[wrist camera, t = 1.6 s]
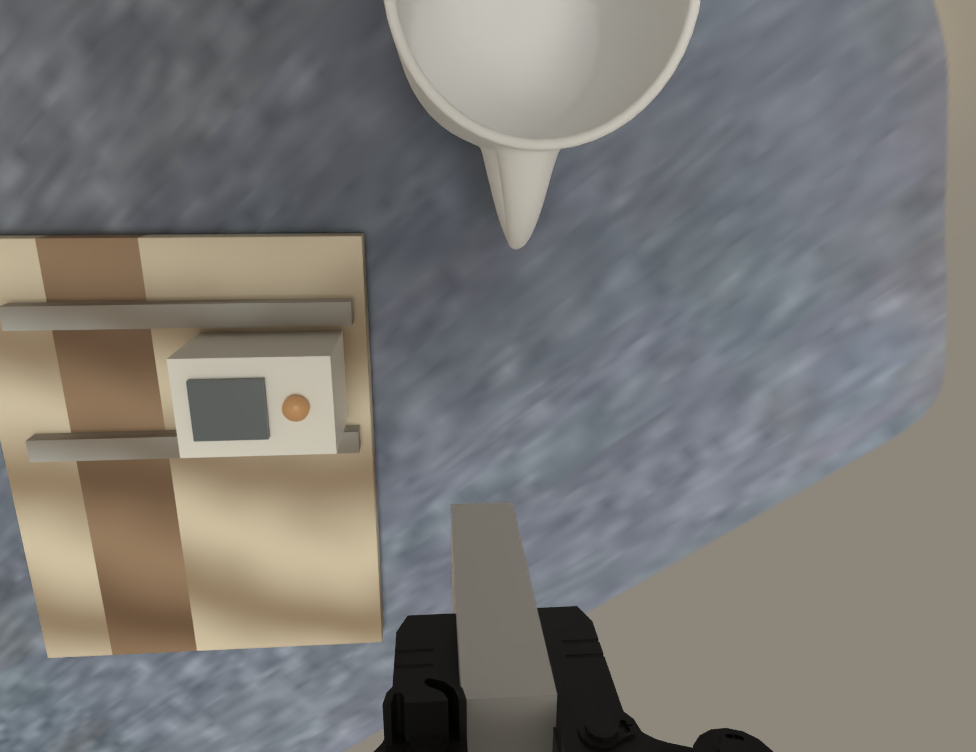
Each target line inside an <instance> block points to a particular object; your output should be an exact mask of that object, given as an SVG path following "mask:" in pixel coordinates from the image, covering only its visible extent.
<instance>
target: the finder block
mask: <svg viewBox="0 0 976 752" xmlns="http://www.w3.org/2000/svg"><path fill="white" fill-rule="evenodd" d="M166 360H167V367H168V374H169V381H170V389H171V396H172V403H173V410H174V417H175V425H176V432H177V439H178V446H179V453H180V458H204V457H239V456H273V455H308V454H337V451H338V448H339V445H340V442H341V438H342V435H343V432H344V429H345V426H346V422H347V419H348V410H347V394H346V378H345V361H344V345H343V331H291V332H230V333H199V334H198V335H196V336H195V337H194V338H193V339H191V340H190V341H189V342H188V343H186V344H185V345H184V346H182V347H181V348H180V349H179V350H177V351H176V352H175V353H174V354H172V355H171V356H170V357H168V358H167V359H166Z"/></svg>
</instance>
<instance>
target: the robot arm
mask: <svg viewBox="0 0 976 752" xmlns="http://www.w3.org/2000/svg"><path fill="white" fill-rule="evenodd" d="M451 541H452V602H453V614H433V615H411V616H407V617H406V619H405V620H404V622H403V623H402V625H401V626H400V628H399V629H398V631H397V632H396V646H395V659H394V673H393V687H392V688H391V689H390V690H389V691H388V692H387V693H386V696H385V699H384V702H383V721H384V741H383V743H382V744H381V745H380V746H379V747H378V748H377V749H376V750H375V751H374V752H773V751H772V750H771V749H770V748H768V747H767V746H766V745H765V744H764V743H763V742H761V741H760V740H759V739H757V738H755V737H753V736H751V735H749V734H747V733H745V732H743V731H738V730H733V729H728V728H722V729H711V730H709V731H707V732H705V733H703V734H702V735H700V736H699V737H698V739H697V741H696V742H695V743H694V745H693V748H691V747H686V746H681V745H677V744H671V743H667V742H664V741H660V740H657V739H655V738H653V737H651V736H649V735H646V734H644V733H643V732H642V731H641V730H640V728H639V727H638V725H637V724H636V722H635V720H634V719H633V718H631V717H630V716H629V715H627V714H626V713H625V712H624V711H623V709H622V706H621V703H620V701H619V697H618V695H617V692H616V689H615V686H614V683H613V680H612V678H611V674H610V671H609V669H608V666H607V663H606V660H605V657H604V656H603V651H602V649H601V645H600V643H599V642H598V637H597V634H596V631H595V628H594V625H593V622H592V621H591V620H590V619H589V618H588V617H587V616H586V615H585V614H584V613H583V612H582V611H581V610H580V609H579V608H578V607H577V606H571V607H549V608H537V606H536V602H535V598H534V593H533V589H532V585H531V581H530V576H529V572H528V568H527V563H526V559H525V555H524V551H523V546H522V542H521V538H520V534H519V529H518V525H517V521H516V516H515V512H514V508H513V504H512V502H504V503H475V504H451Z"/></svg>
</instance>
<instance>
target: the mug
mask: <svg viewBox="0 0 976 752" xmlns="http://www.w3.org/2000/svg"><path fill="white" fill-rule="evenodd" d="M700 1H701V0H384V5H385V10H386V16H387V20H388V23H389V27H390V30H391V33H392V36H393V39H394V43H395V46H396V49H397V52H398V55H399V58H400V61H401V64H402V67H403V70H404V72H405V75H406V77H407V80H408V82H409V84H410V86H411V89H412V90H413V92H414V94H415V95H416V97H417V99H418V100H419V102H420V103H421V105H422V106H423V107H424V108H425V110H426V111H427V112H428V113H429V115H430V116H431V117H432V118H433V119H435V120H436V121H437V122H438V123H439V124H440V125H441V126H442V127H444V128H445V129H446V130H448V131H449V132H450V133H452V134H454V135H456V136H457V137H459V138H461V139H463V140H465V141H467V142H470V143H472V144H474V145H477V146H479V148H480V149H481V152H482V155H483V159H484V163H485V168H486V172H487V176H488V180H489V184H490V188H491V192H492V197H493V201H494V204H495V208H496V211H497V215H498V218H499V221H500V224H501V227H502V230H503V232H504V235H505V237H506V240H507V242H508V244H509V246H510V247H511V248H513V249H519V248H521V247H523V246H524V245H525V244H526V243H527V241H528V240H529V239H530V237H531V235H532V233H533V231H534V228H535V226H536V223H537V221H538V218H539V216H540V212H541V209H542V206H543V203H544V199H545V196H546V192H547V189H548V185H549V182H550V178H551V174H552V171H553V168H554V164H555V161H556V158H557V156H558V153H559V151H560V150H561V149H564V148H569V147H575V146H578V145H582V144H585V143H588V142H591V141H594V140H596V139H598V138H601V137H603V136H605V135H607V134H609V133H611V132H613V131H615V130H616V129H618V128H619V127H621V126H622V125H624V124H626V123H627V122H629V121H630V120H631V119H632V118H634V117H635V116H636V115H637V114H638V113H640V112H641V111H642V110H643V109H644V108H646V106H647V105H648V104H649V103H650V102H651V101H652V100H653V99H654V98H655V97H656V96H657V95H658V94H659V93H660V91H661V90H662V89H663V87H664V86H665V84H666V83H667V82H668V80H669V79H670V78H671V76H672V75H673V73H674V71H675V70H676V68H677V66H678V64H679V62H680V61H681V59H682V57H683V55H684V53H685V51H686V48H687V46H688V43H689V41H690V39H691V36H692V33H693V30H694V27H695V23H696V20H697V16H698V13H699V7H700Z"/></svg>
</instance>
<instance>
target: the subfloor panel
mask: <svg viewBox="0 0 976 752" xmlns="http://www.w3.org/2000/svg"><path fill="white" fill-rule="evenodd" d="M291 331H343V345H344V361H345V378H346V394H347V410H348V419H347V422H346V426H345V429H344V432H343V435H342V438H341V442H340V445H339V448H338V451H337V454H308V455H273V456H239V457H204V458H180V453H179V446H178V439H177V432H176V425H175V417H174V410H173V403H172V396H171V389H170V381H169V374H168V367H167V360H166V359H167V358H168V357H170V356H171V355H172V354H174V353H175V352H176V351H177V350H179V349H180V348H181V347H182V346H184V345H185V344H186V343H188V342H189V341H190V340H191V339H193V338H194V337H195V336H196V335H198V334H199V333H230V332H291ZM0 440H1V445H2V449H3V454H4V459H5V463H6V468H7V472H8V477H9V481H10V486H11V491H12V495H13V500H14V504H15V509H16V513H17V518H18V522H19V527H20V532H21V536H22V541H23V545H24V550H25V554H26V559H27V564H28V568H29V573H30V577H31V582H32V586H33V591H34V596H35V600H36V605H37V609H38V614H39V618H40V623H41V628H42V632H43V637H44V641H45V646H46V650H47V655H48V658H56V657H77V656H97V655H118V654H139V653H160V652H181V651H201V650H222V649H243V648H264V647H285V646H306V645H326V644H347V643H368V642H382V637H383V627H384V626H383V605H382V585H381V565H380V545H379V525H378V505H377V485H376V465H375V445H374V424H373V404H372V384H371V364H370V344H369V324H368V304H367V284H366V264H365V243H364V233H305V234H154V235H3V236H0Z"/></svg>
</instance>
